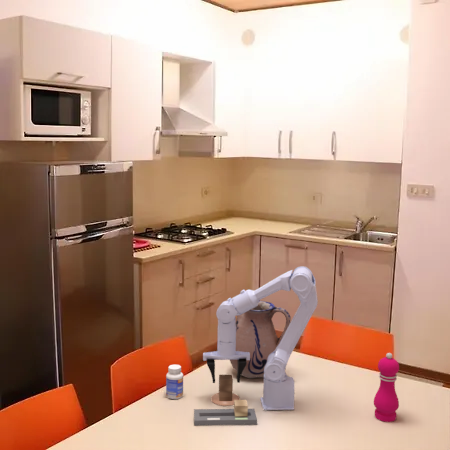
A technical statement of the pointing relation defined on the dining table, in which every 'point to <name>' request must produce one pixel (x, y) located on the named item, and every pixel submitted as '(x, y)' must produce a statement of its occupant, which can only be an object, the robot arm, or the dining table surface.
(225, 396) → the block
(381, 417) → the pepper mill
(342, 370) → the dining table surface
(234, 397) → the coaster
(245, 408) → the switch tab
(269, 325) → the ceramic pitcher
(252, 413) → the switch panel
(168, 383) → the pill bottle
